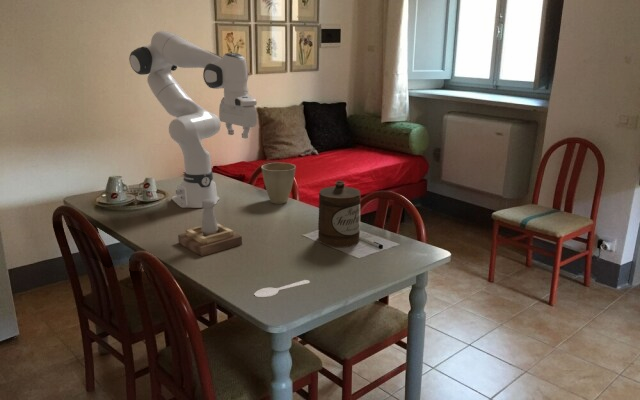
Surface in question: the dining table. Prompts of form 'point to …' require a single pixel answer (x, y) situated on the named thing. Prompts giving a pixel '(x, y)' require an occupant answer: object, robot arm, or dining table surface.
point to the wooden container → (339, 215)
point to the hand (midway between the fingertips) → (237, 136)
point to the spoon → (277, 289)
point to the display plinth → (209, 240)
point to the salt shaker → (208, 218)
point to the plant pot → (278, 180)
